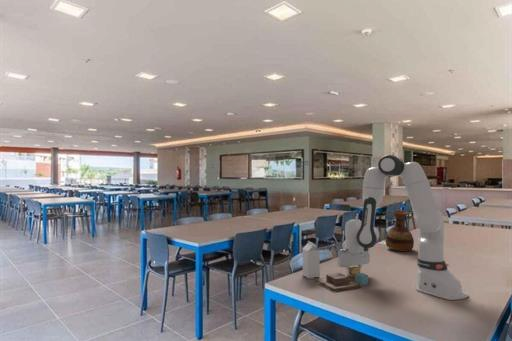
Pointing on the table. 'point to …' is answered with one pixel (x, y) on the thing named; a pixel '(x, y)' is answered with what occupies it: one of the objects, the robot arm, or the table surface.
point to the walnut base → (338, 287)
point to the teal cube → (361, 278)
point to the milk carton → (311, 261)
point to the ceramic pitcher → (399, 234)
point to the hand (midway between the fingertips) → (353, 273)
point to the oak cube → (354, 271)
